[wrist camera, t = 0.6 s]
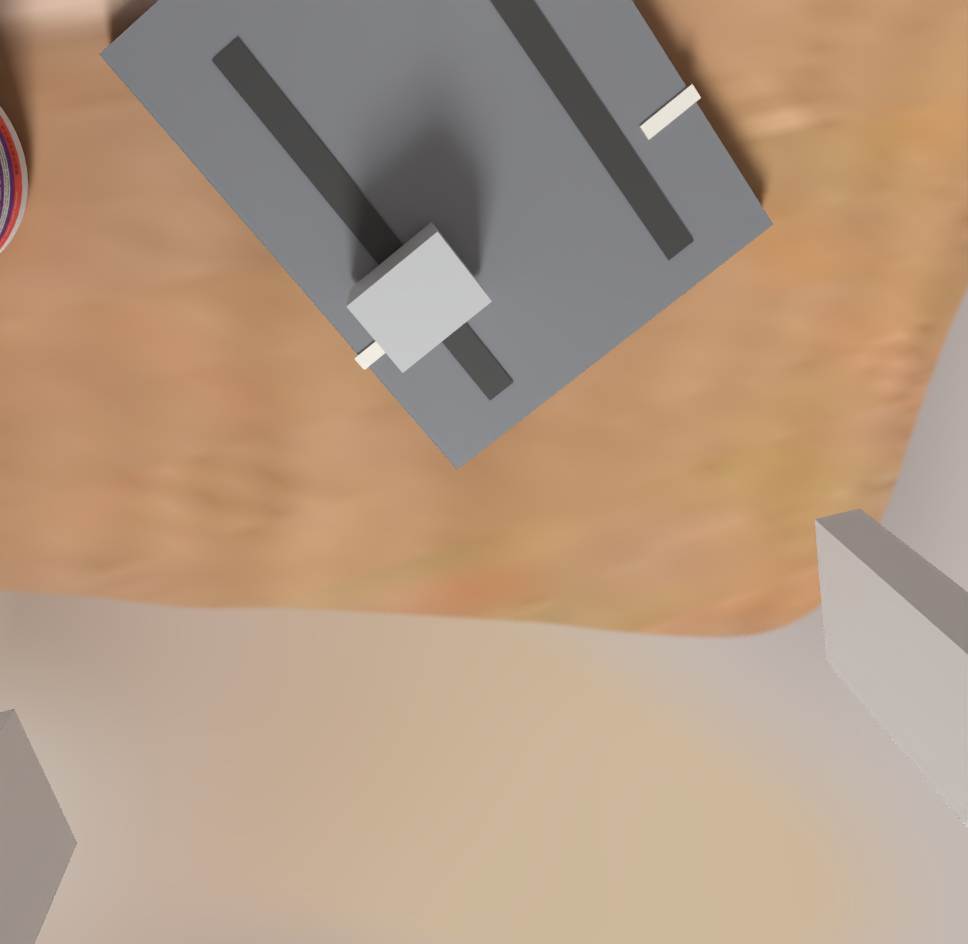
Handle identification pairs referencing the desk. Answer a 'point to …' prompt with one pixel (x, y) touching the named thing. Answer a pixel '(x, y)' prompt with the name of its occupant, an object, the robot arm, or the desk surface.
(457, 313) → the fader grey
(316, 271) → the panel
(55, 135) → the desk surface
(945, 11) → the desk surface
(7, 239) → the pill bottle
